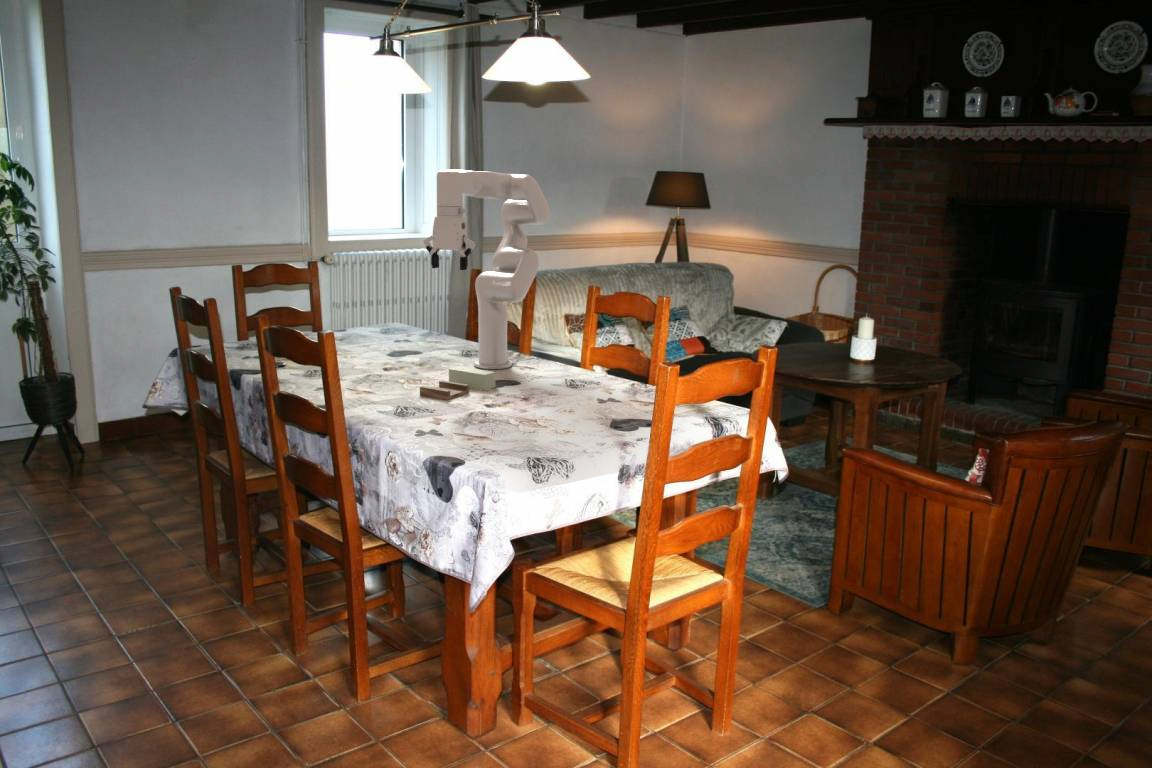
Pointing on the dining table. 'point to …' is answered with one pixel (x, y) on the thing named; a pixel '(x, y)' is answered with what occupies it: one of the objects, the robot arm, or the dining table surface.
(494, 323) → the robot arm
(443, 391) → the cradle
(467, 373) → the peg
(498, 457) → the dining table surface
